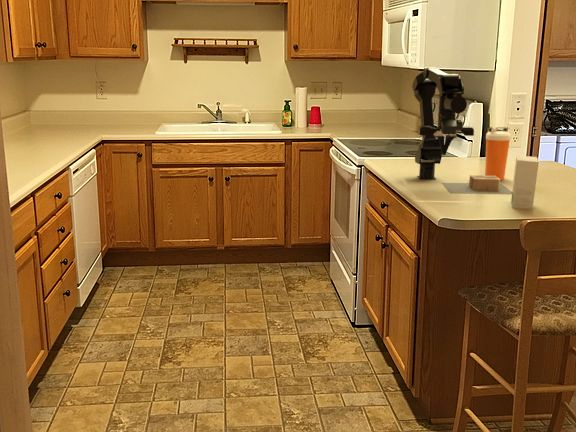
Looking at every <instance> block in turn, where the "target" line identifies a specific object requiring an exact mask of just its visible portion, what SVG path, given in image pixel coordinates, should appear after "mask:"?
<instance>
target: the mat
mask: <svg viewBox="0 0 576 432" xmlns="http://www.w3.org/2000/svg"><path fill="white" fill-rule="evenodd" d="M441 185H442V186H443V187H444V188H445V190H447V191H448V192H449V194H461V195H462V194H463V195H465V194H469V195H472V194H473V195H512V190H510V189H509V188H508V187H507V186H505V185H504V184H502V183H500V189H499V191H486V190H473V189H471V188H470V187H469V182H441Z"/></svg>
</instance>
